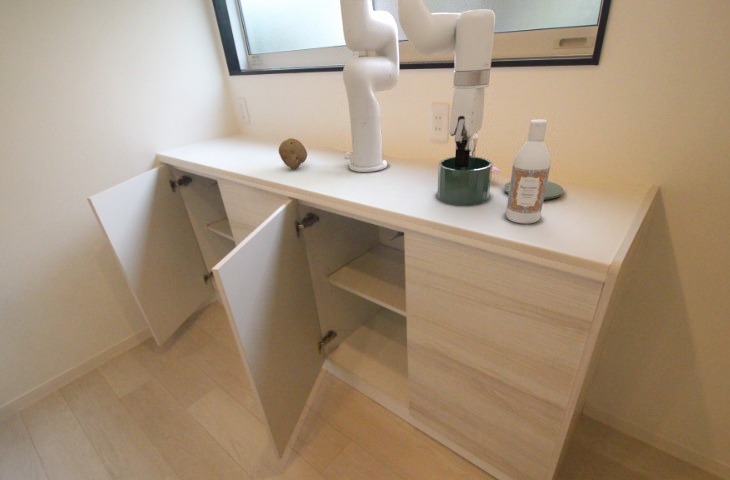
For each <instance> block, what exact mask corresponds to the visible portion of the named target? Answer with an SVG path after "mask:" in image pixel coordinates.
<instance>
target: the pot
mask: <svg viewBox="0 0 730 480" xmlns="http://www.w3.org/2000/svg"><path fill="white" fill-rule="evenodd" d="M492 167H493V161H492V160H490V159H488V158H486V157H482V156H481V157H480V156H475V161H474V166H473V170H459V167H456V166H455V156H451V157H446V158H444V159H441V160H440V161H438V165H437V169H438V172H437V194H436V195H437V199H438V200H439V201H440V202H441V203H445V204H448V205H451V206H459V207H460V206H463V207H464V206H465V207H466V206H467V207H468V206H469V207H470V206H476V205H481V204H483V203H485V202H487V201H488V199H489V197H490V190H491V184H492V183H491V181H492V174H493V172H492Z"/></svg>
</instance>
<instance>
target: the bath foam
mask: <svg viewBox="0 0 730 480" xmlns="http://www.w3.org/2000/svg"><path fill="white" fill-rule="evenodd" d="M547 125H548V120H546V119H542V118H541V119H531V120H530V122H529V128H528V135H527V140H526V141H525V142H524V144H523V145H522V146H521V147H520V148H519V150H518V151H517V153H516V155H515V156H514V159H513V163H512V167H511V176H510V181H509V182H510V189H509V194H508V197H507V203H506V211H505V217H506V218H507V220H509V221H511V222H513V223H517V224H525V225H526V224H527V225H529V224H535V223H537V222H538V221H540V219H541V216H542V215H541V214H542V211H543V205H544V195H545V190H546V185H547V181H548V180H549V175H550V169H551V162H552V159H551V154H550V150H549V149H548V146H547V144H546V142H545V136H546V131H547Z"/></svg>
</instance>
